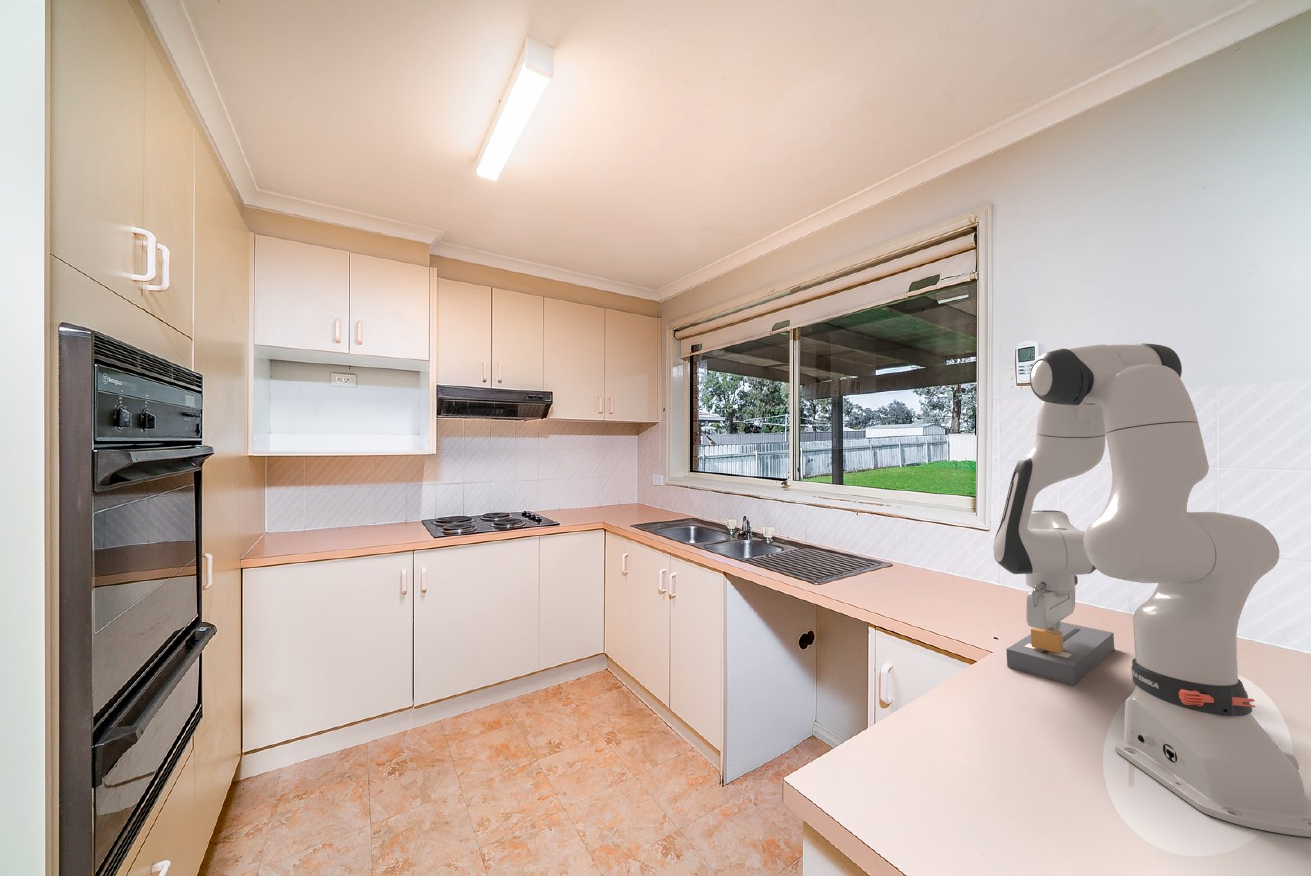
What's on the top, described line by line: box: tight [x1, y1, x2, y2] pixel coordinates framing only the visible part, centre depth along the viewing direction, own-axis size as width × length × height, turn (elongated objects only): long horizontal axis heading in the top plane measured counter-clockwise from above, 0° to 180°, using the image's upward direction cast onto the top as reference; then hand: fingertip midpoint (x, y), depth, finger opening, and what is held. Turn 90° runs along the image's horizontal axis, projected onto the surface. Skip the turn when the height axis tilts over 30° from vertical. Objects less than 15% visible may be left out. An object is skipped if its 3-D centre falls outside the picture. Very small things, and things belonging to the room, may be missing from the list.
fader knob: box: [1030, 627, 1063, 653], centre depth 110 cm, size 3×5×4 cm, turn 35°
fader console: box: [1005, 621, 1115, 687], centre depth 116 cm, size 32×12×4 cm, turn 125°
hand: (1052, 639), depth 112 cm, fingers closed
